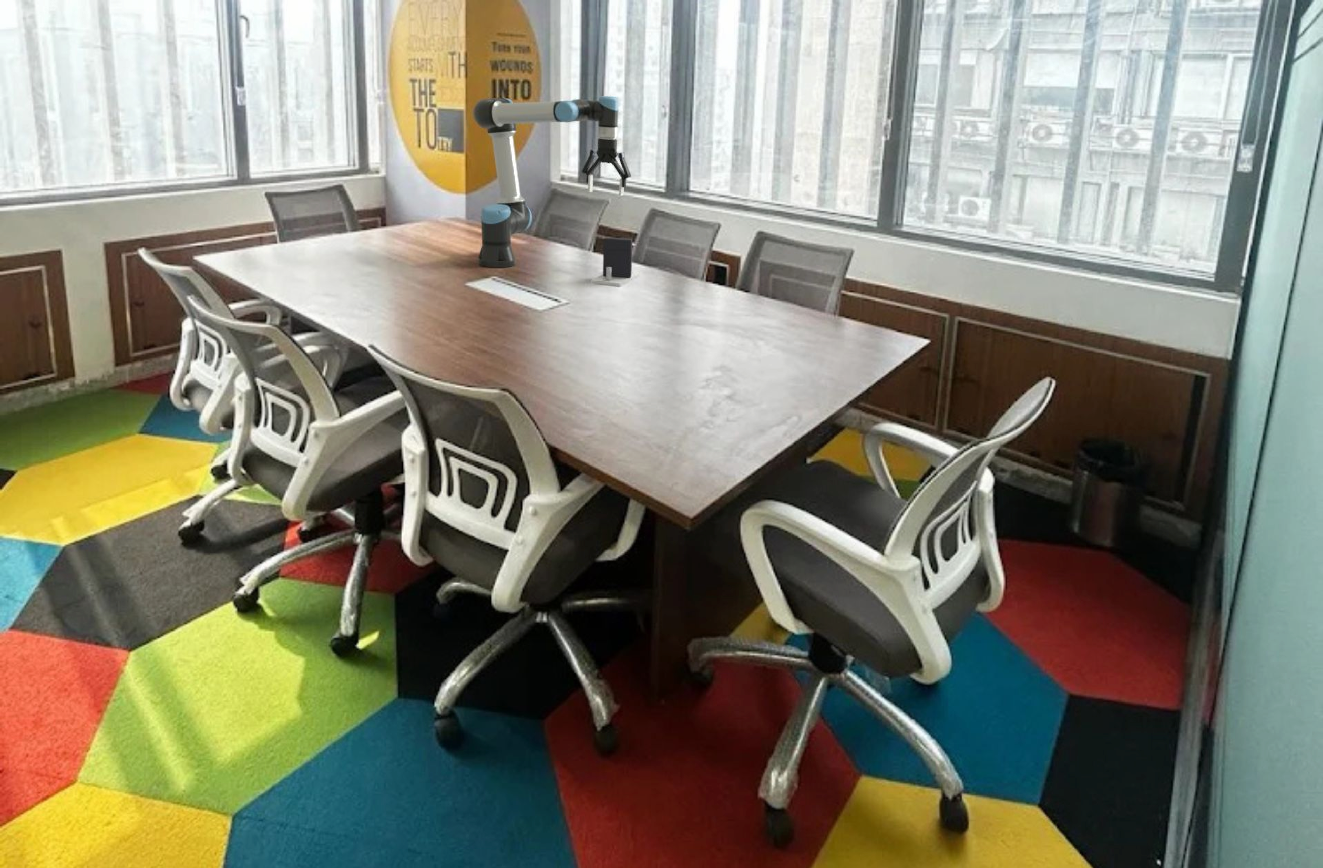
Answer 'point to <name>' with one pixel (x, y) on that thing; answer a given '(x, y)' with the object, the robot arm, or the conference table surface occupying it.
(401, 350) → the conference table surface
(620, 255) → the calculator
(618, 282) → the white peg stand
